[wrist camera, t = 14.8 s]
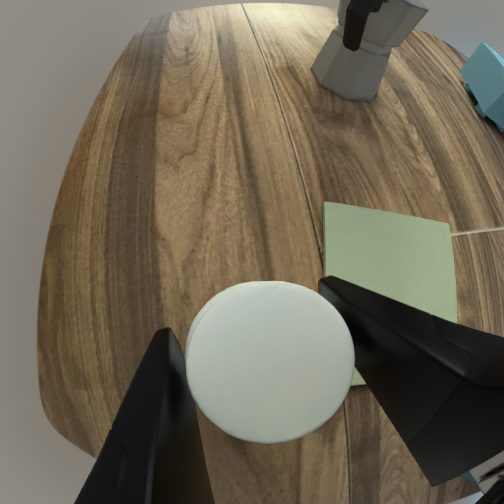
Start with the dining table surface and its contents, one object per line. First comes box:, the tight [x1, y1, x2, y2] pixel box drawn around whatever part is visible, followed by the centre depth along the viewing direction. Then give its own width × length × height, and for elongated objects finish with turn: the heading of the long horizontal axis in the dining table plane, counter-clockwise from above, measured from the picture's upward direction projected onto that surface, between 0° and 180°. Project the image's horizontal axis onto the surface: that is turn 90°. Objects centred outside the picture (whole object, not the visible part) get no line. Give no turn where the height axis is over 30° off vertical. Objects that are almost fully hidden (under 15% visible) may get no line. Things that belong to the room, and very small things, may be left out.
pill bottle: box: [185, 281, 355, 444], centre depth 10 cm, size 5×5×8 cm
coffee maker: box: [311, 0, 428, 103], centre depth 17 cm, size 15×9×18 cm, turn 146°
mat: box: [322, 202, 457, 386], centre depth 19 cm, size 14×14×1 cm
